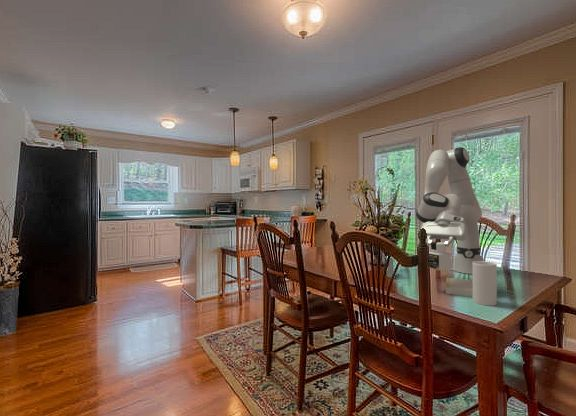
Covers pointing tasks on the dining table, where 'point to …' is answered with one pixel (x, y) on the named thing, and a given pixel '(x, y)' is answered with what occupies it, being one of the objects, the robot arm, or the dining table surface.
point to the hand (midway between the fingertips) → (437, 245)
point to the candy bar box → (390, 267)
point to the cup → (485, 283)
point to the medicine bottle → (439, 257)
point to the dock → (459, 287)
